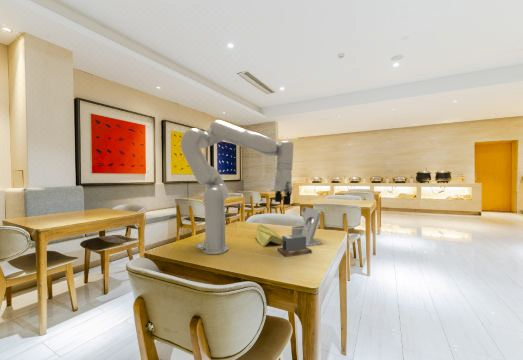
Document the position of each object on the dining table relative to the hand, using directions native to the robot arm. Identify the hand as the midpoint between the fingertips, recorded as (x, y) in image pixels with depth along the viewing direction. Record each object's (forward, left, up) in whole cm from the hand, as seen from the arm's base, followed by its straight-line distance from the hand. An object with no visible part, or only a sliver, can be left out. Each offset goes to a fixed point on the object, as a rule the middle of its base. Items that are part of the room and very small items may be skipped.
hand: (282, 203), depth 112 cm
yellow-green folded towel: (0, +18, -24) cm, 30 cm away
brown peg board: (+5, -3, -23) cm, 24 cm away
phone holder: (+19, +11, -24) cm, 33 cm away
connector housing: (+5, -3, -22) cm, 22 cm away
